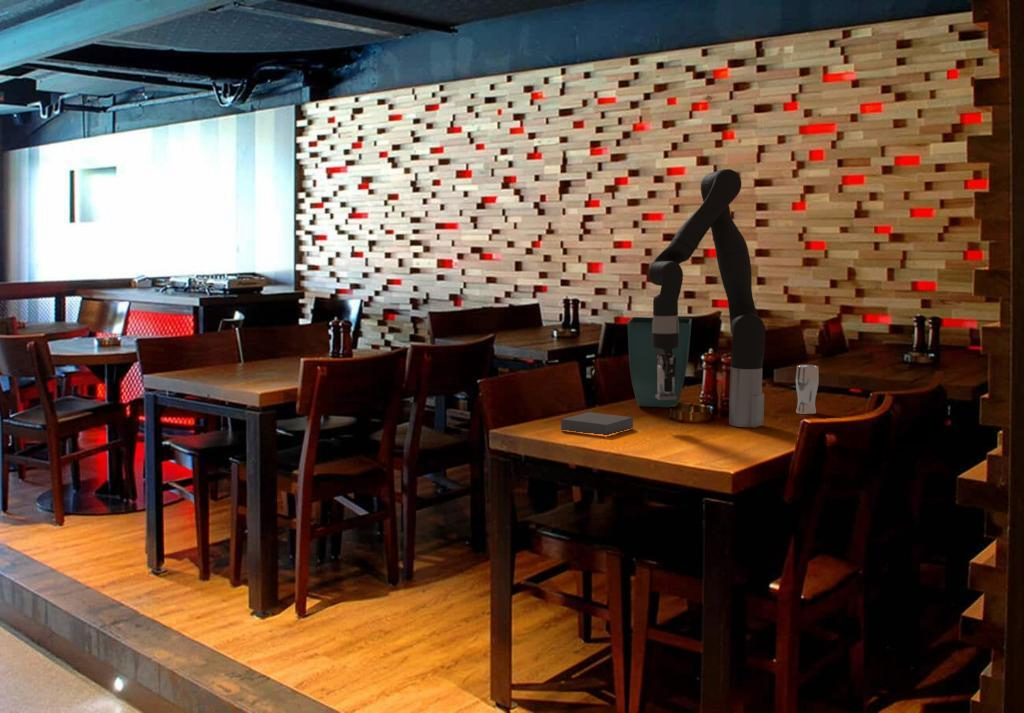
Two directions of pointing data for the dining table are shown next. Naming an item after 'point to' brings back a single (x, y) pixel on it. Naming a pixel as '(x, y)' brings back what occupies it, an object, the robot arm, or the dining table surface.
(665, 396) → the salt shaker
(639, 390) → the flower pot
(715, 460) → the dining table surface
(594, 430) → the slate block
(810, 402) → the beer glass
